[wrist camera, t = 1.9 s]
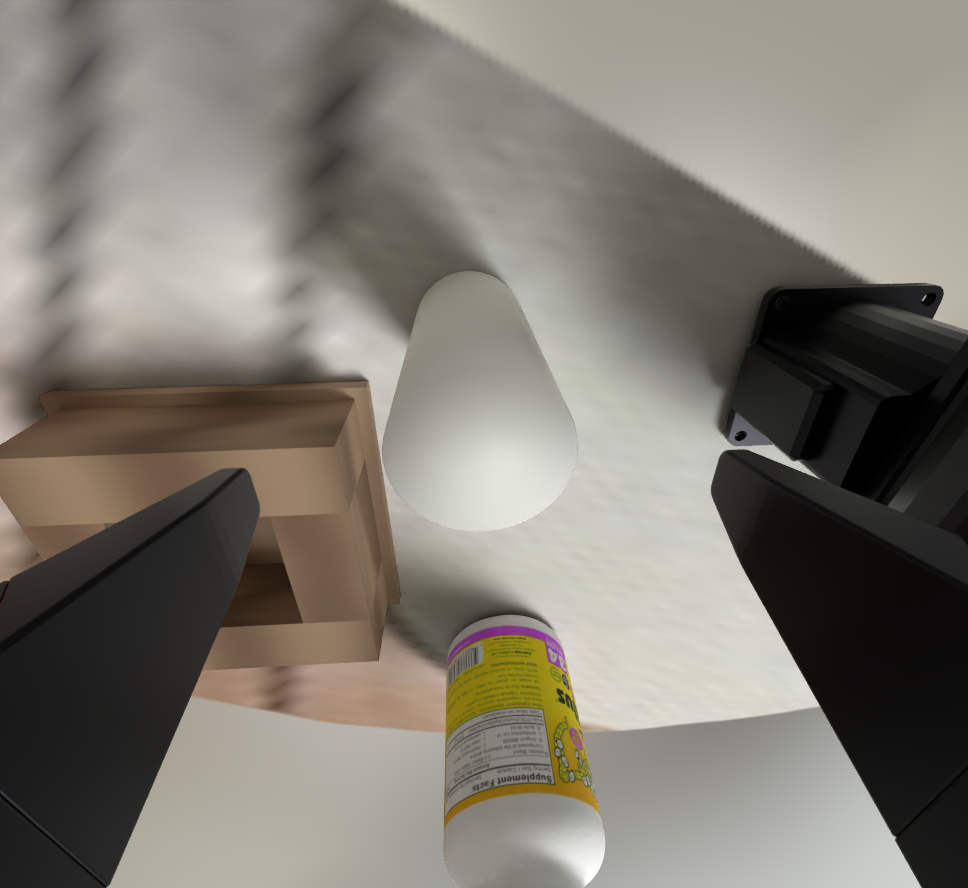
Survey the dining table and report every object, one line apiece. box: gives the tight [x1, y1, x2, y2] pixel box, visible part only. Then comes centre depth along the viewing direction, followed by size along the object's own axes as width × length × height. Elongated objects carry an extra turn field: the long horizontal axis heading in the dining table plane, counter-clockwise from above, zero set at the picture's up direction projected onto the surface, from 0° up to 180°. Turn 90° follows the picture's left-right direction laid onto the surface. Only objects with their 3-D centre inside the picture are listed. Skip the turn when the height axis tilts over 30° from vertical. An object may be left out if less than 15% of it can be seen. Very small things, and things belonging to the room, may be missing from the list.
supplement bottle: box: [443, 615, 605, 888], centre depth 21 cm, size 7×7×13 cm
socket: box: [0, 381, 401, 670], centre depth 19 cm, size 12×12×4 cm
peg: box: [382, 271, 578, 531], centre depth 13 cm, size 4×4×9 cm
